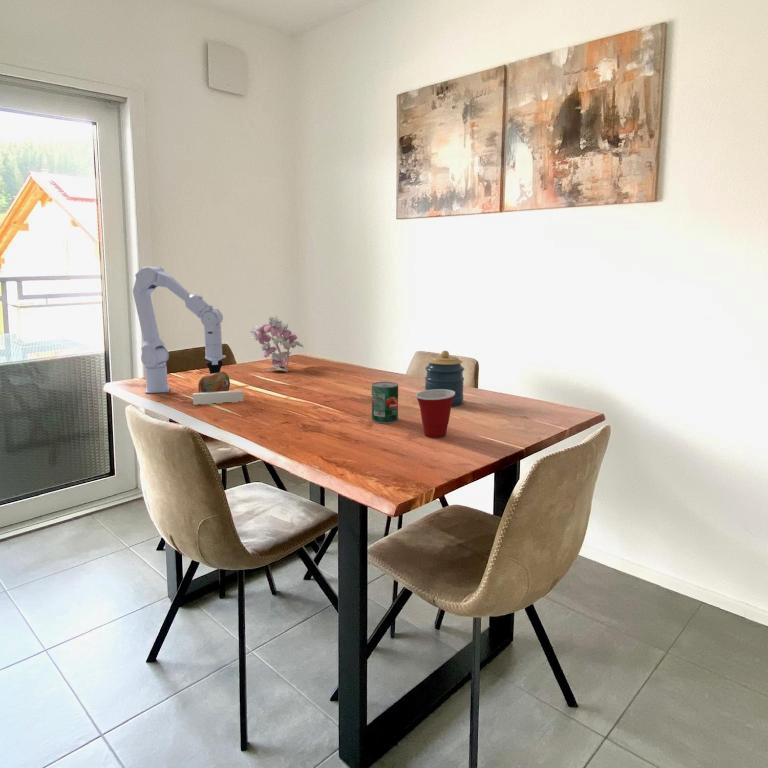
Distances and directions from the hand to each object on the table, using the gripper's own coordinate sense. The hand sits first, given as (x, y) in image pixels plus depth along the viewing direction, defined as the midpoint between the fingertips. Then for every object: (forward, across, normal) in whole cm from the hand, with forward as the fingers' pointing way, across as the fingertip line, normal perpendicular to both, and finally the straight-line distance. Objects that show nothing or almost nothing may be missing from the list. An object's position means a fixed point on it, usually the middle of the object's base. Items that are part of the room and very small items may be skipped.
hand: (215, 381), depth 218 cm
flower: (+4, +41, -28) cm, 50 cm away
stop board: (+4, -17, 0) cm, 18 cm away
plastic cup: (+4, -73, -55) cm, 92 cm away
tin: (+4, -9, +1) cm, 10 cm away
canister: (+4, -38, -72) cm, 82 cm away
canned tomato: (+4, -54, -46) cm, 72 cm away
